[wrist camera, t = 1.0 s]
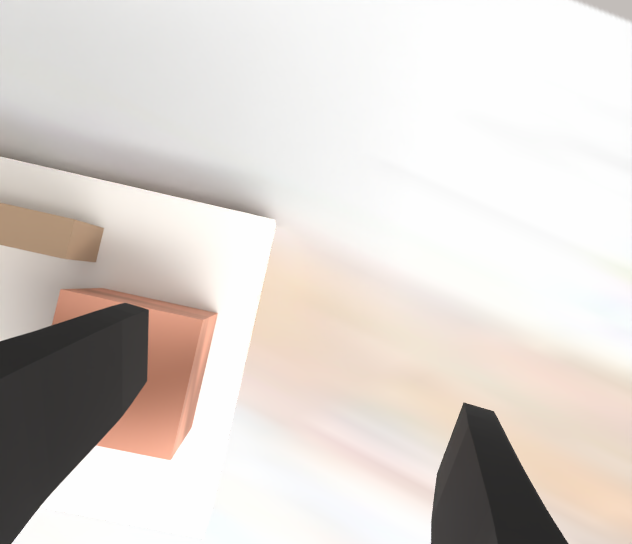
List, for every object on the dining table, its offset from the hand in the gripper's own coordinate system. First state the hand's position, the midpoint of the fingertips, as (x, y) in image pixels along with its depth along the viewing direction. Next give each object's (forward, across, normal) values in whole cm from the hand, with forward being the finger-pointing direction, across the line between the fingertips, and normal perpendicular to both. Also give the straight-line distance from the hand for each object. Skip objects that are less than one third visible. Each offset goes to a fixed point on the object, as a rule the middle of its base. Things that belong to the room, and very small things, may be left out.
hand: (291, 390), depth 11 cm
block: (+7, +8, +6) cm, 12 cm away
